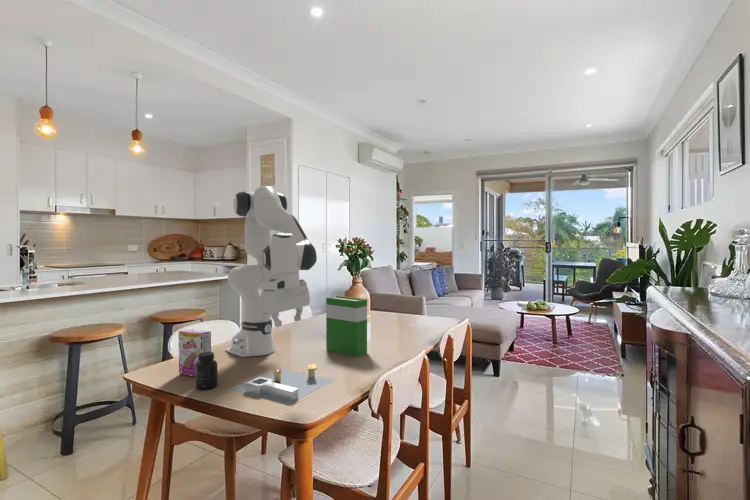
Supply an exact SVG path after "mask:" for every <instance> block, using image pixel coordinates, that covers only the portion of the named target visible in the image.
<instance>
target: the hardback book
mask: <svg viewBox="0 0 750 500" xmlns="http://www.w3.org/2000/svg"><path fill="white" fill-rule="evenodd" d="M325 299H326V301H325V302H326V303H325V305H326V306H325V311H326V312H325V313H326V320H325V321H326V323H325V325H326V328H325V330H326V331H325V333H326V341H325V342H326V351H328V352H332V353H336V354H340V355H341V354H342V355H345V356H349V357H354V358H358V357H360V356H363V355H366V354H367V353H368V299H367V298H360V297H350V296H342V295H341V296H340V295H336V296H335V297H328V296H327V297H326V298H325Z"/></svg>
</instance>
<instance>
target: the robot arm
mask: <svg viewBox="0 0 750 500" xmlns="http://www.w3.org/2000/svg"><path fill="white" fill-rule="evenodd" d="M233 209H234V212H235V214H236V215H238V216H240V217H243V218H245V217H246V218H245V222H244V224H245V225H244V251H245V253H246V254H247V255H249V256H251V257H252V258H253V259H254V258H255V259H256V262H257V264H253V265H252V264H251V265H249V264H248V265H247V264H246V265H245V264H244V265H239V266H236V267H233V268H231V269H230V270H229V272H228V273H227V274H228V275H227V283H228V285H229V287H230V288H231V289H232V290H233V291H235V292H237V294H239V296H240V297H241V298H242V301H243V304H244V316H245V317H244V318H245V320H244V321H241V322H240V323H241V324H240V325H241V326H242V329H240V330H239V331H238V332H237V333H236V334H235V335H233V337H232V339H231V345H230V346H228V347H226V348H225V352H227V353H230V354H232V355H235V356H238V357H240V358H246V357H257V356H259V357H260V356H265V355H269V354H272V353H274V352H275V351H276V348H275V347H276V346H275V344H274V337H273V331H272V328H273V323H274V327H275V328H276V327H277V328H279V327H282V321H283V320H280V319H279V317H280V313H282V312H286V311H291V310H294V309H295V311H296V312H295V315H293V318H294V319H293V320H294V322H300V321H301V320H302V317H301V316H302V314H303V309H304V308H303V307H306V306H309V305H310V303H311V298H310V297H311V296H310V292H309V291H310V290H309V288H308V284H307V281H305V279H302V278H301V279H300V272H299V271H309V270H311V269H312V268H313V267H314V266H315V265H316V263H317V261H318V260H317V259H318V258H317V257H318V255H317V251H316V249H315V246H314V245H313V244H312V242H310V240H309V239H308V237H307V235H306V233H305V231H304V230H303V227H302V226H301V225H300V223H299V222H298V220H297V218H296V216H294V215H293V214H291V213H289V212H288V211H287V210H288V201H287V197H286V196H285V194H282V193H280V192H277V191H276V190H275V189H274V188H273V187H271V186H267V185H261V186H259V187H258V188H256V189H255V190H254V191H246V190H244V191H239V192H237V193H236V194H235V196H234V198H233ZM271 231H274V232H277V233H274V234H272V235H271ZM259 290H261V291H262V292H261V293H260V294H259Z"/></svg>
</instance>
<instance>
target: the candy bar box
mask: <svg viewBox="0 0 750 500" xmlns="http://www.w3.org/2000/svg"><path fill="white" fill-rule="evenodd" d="M204 352H212V331H210V330H203V329H195V328H186V329H181V330H179V331H178V374H179V373H180V374H186V375H192V376H191V377H193V376H196V374H195V366H196V364H197V363H198V362H199V360H198V355H199V354H200V353H204ZM180 374H179V375H180ZM186 375H185V376H186Z"/></svg>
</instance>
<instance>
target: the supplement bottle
mask: <svg viewBox="0 0 750 500" xmlns="http://www.w3.org/2000/svg"><path fill="white" fill-rule="evenodd" d="M198 360H199V362H198V363H197V364H196V366H195V374H196V377H195V390H197V391H200V392H201V391H203V392H204V391H210V390H214V389H216V388H217V387H218V386H219V379H218V376H219V375H218V361H217V360H216V359H215V353H214V352H213V351H211V352H204V353H200V354H199V355H198Z"/></svg>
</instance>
